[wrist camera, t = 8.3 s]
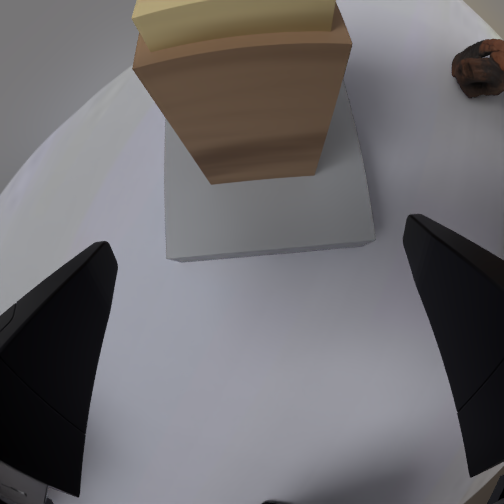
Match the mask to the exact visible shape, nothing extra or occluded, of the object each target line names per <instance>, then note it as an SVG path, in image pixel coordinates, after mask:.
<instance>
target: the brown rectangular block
mask: <svg viewBox="0 0 504 504" xmlns="http://www.w3.org/2000/svg"><path fill="white" fill-rule="evenodd" d="M132 20H133V22H134V24H135V26H136V27H137V29H138V31H139V37H138V41H137V47H136V52H135V57H134V63H133V68H132V69H133V71H134V72H135V74H136V75H137V76H138V78H139V79H140V81H141V82H142V84H143V85H144V87H145V88H146V90H147V91H148V93H149V94H150V96H151V97H152V98H153V100H154V101H155V103H156V104H157V106H158V107H159V109H160V110H161V112H162V113H163V115H164V116H165V118H166V119H167V121H168V122H169V124H170V125H171V127H172V128H173V129H174V131H175V132H176V134H177V135H178V137H179V138H180V140H181V141H182V143H183V144H184V146H185V147H186V149H187V150H188V152H189V153H190V155H191V156H192V158H193V159H194V160H195V162H196V163H197V165H198V166H199V168H200V169H201V171H202V172H203V174H204V175H205V177H206V178H207V180H208V181H209V183H210V184H211V185H214V184H223V183H232V182H242V181H252V180H263V179H275V178H288V177H301V176H314V175H315V172H316V169H317V165H318V162H319V159H320V156H321V152H322V149H323V146H324V143H325V139H326V136H327V132H328V129H329V126H330V122H331V119H332V116H333V112H334V109H335V105H336V102H337V98H338V95H339V91H340V88H341V84H342V81H343V77H344V73H345V70H346V66H347V62H348V59H349V55H350V51H351V48H352V41H351V39H350V36H349V33H348V31H347V28H346V26H345V23H344V20H343V18H342V16H341V13H340V11H339V8H338V6H337V4H336V0H137V1H136V5H135V9H134V12H133V15H132Z"/></svg>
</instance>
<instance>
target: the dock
mask: <svg viewBox="0 0 504 504" xmlns="http://www.w3.org/2000/svg"><path fill="white" fill-rule="evenodd" d="M164 198H165V237H166V259H170V260H174V261H178V262H193V261H204V260H216V259H227V258H239V257H250V256H261V255H272V254H283V253H295V252H306V251H317V250H328V249H339V248H350V247H360V246H364V245H366V244H368V243H370V242H372V241H374V240H376V238H375V230H374V223H373V216H372V209H371V203H370V197H369V191H368V185H367V180H366V174H365V169H364V164H363V159H362V154H361V149H360V144H359V140H358V135H357V131H356V127H355V122H354V118H353V114H352V110H351V106H350V102H349V99H348V95H347V91H346V88H345V84H344V80H343V81H342V84H341V88H340V91H339V95H338V98H337V102H336V105H335V109H334V112H333V116H332V119H331V122H330V126H329V129H328V132H327V136H326V139H325V143H324V146H323V149H322V152H321V156H320V159H319V162H318V165H317V169H316V172H315V175H314V176H301V177H288V178H275V179H263V180H252V181H242V182H232V183H223V184H214V185H211V184H210V183H209V181H208V180H207V178H206V177H205V175H204V174H203V172H202V171H201V169H200V168H199V166H198V165H197V163H196V162H195V160H194V159H193V158H192V156H191V155H190V153H189V152H188V150H187V149H186V147H185V146H184V144H183V143H182V141H181V140H180V138H179V137H178V135H177V134H176V132H175V131H174V129H173V128H172V127H171V125H170V124H169V122H168V121H167V119H165V158H164Z"/></svg>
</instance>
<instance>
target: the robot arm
mask: <svg viewBox="0 0 504 504" xmlns="http://www.w3.org/2000/svg"><path fill="white" fill-rule="evenodd" d="M403 245H404V248H405V252H406V255H407V258H408V261H409V264H410V267H411V271H412V274H413V278H414V281H415V284H416V287H417V290H418V292H419V295H420V297H421V300H422V303H423V305H424V308H425V310H426V313H427V316H428V318H429V321H430V324H431V327H432V330H433V332H434V335H435V338H436V341H437V344H438V347H439V350H440V353H441V356H442V360H443V363H444V366H445V369H446V373H447V376H448V380H449V383H450V387H451V390H452V394H453V398H454V402H455V406H456V410H457V412H458V413H457V415H458V419H459V423H460V428H461V432H462V437H463V442H464V447H465V452H466V458H467V464H468V470H469V475H470V478H471V477H473V476H476V475H478V474H480V473H482V472H484V471H486V470H488V469H490V468H492V467H494V466H496V465H498V464H500V463H502V462H504V261H503V260H502V259H500V258H499V257H497V256H495V255H494V254H492V253H490V252H489V251H487V250H485V249H484V248H482V247H480V246H479V245H477V244H475V243H473V242H472V241H470V240H468V239H466V238H465V237H463V236H461V235H459V234H458V233H456V232H454V231H452V230H450V229H448V228H447V227H445V226H443V225H441V224H439V223H437V222H435V221H433V220H431V219H430V218H428V217H426V216H424V215H422V214H411V215H409V216H408V217H407V220H406V225H405V231H404V236H403ZM117 271H118V264H117V261H116V258H115V256H114V254H113V251H112V249H111V247H110V244H109V243H108V242H107V241H101V242H95V243H93V244H92V245H91V246H89V247H88V248H86V249H85V250H84V251H82V252H81V253H79V254H78V255H77V256H75V257H74V258H73V259H71V260H70V261H69V262H67V263H66V264H64V265H63V266H62V267H60V268H59V269H58V270H57V271H55V272H54V273H53V274H51V275H50V276H49V277H47V278H46V279H45V280H44V281H42V282H41V283H40V284H38V285H37V286H36V287H35V288H33V289H32V290H31V291H30V292H28V293H27V294H26V295H25V296H23V297H22V298H21V299H20V300H19V301H17V304H16V303H15V304H14V305H13V306H11V307H10V308H9V309H8V310H7V311H5V312H4V313H3V314H2V315H1V316H0V504H53V502H52V500H51V499H49V498H46V496H47V491H48V487H51V488H53V489H56V490H58V491H61V492H64V493H67V494H70V495H73V496H75V497H79V495H80V485H81V472H82V462H83V452H84V444H85V436H86V435H85V434H86V428H87V421H88V414H89V408H90V402H91V396H92V391H93V386H94V380H95V375H96V370H97V365H98V361H99V356H100V352H101V347H102V343H103V339H104V335H105V330H106V326H107V322H108V319H109V314H110V310H111V305H112V299H113V293H114V287H115V281H116V276H117ZM262 504H274V503H262ZM487 504H504V475H502V476H500V478H499V480H498V482H497V485H496V487H495V489H494V491H493V493H492V495H491V497H490V499H489V501H488V503H487Z"/></svg>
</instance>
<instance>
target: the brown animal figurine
mask: <svg viewBox="0 0 504 504" xmlns="http://www.w3.org/2000/svg"><path fill="white" fill-rule="evenodd" d="M488 55H490V58H487V57H486V58H483V57H485V56H488ZM452 76H453V77H456V79H457V82H458V83H459V84H460V87H461V89H462V90H463V92H464V93H465V94H466V95H467V96H468V98H472V97H477V96H481V95H486V96H487V95H499V94H500V93H501V92H503V91H504V41H503V40H500V39H491V40H489V39H486V40H483V41H480V42H477V43H476V44H473V45H472V46H469V47H468V48H466V49H465V50H464V51H462V52H461V53H458V54H457V55H456V56H455V58H454V59H453V62H452Z"/></svg>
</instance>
